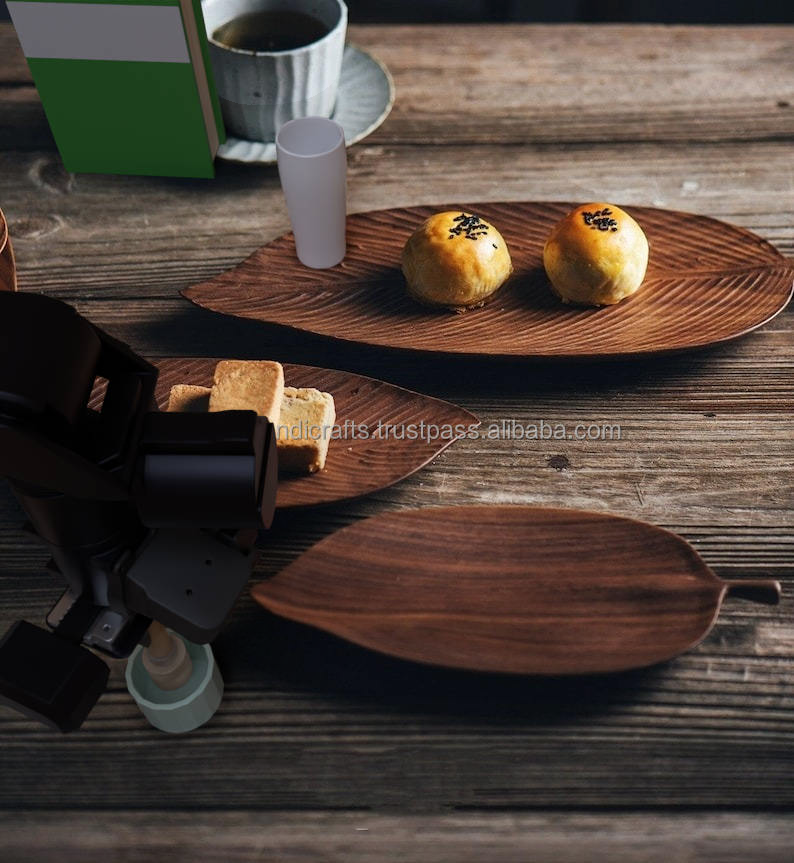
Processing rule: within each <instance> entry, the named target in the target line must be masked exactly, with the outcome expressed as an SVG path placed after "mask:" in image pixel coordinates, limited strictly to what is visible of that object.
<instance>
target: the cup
mask: <svg viewBox="0 0 794 863" xmlns="http://www.w3.org/2000/svg"><path fill="white" fill-rule="evenodd" d="M165 630H166V632H167V634H171V635H175V636H177V637H178V638H180V639H181V640H182V641H183V643H184V645H185V647H186V649H187V652H188V654H189V656H190V658H191V660H192V663H193V673H192V676H191V678H190V680H189V681H188V682H187V683H186V684H185V685H184V686H183V687H181V688H179V689H177V690H173V691H165V690H162V689H160V688H158V687H157V686H156V685H155V684H154V683H153V681H152V679H151V677H150V675H149V674H148V672H147V670H146V668H145V666H144V664H143V662H142V654H143V650H144V648H145V647H144V646H142V645H139V644H138V645H137V646H136V648H135V649H134V651H133V652H132V654H131V655H130V656H129V657H128V660H127V664H126V670H125V675H124V676H125V681H126V685H127V690H128V692H129V694H130V695H131V697H132V698H133V700H134V702H135V703H136V705H137V706H138V708H139V710H140V711H141V713H142V714H143V716H144V717H145V718H146V720H147V721H148V722H149V723H150V725H151V726H154V727H155V728H156V729H159V730H161V731H163V732H165V733H175V734H178V733H186V732H191V731H192V730H195V729H197V728H199V727H200V726H202V725H204V724H205V723H206V722H208V721H209V720H210V719H211V718H212V716H213V715H214V714H215V713H216V712H217V710H218V708H219V707H220V705H221V703H222V700H223V697H224V696H223V695H224V687H225V683H224V679H223V675H222V672H221V669H220V666H219V664H218V661H217V659H216V657H215V654H214V651H213V649H212V647H211V645H210V643H208V644H205V645H197V644H194V643H192V642H190V641H188V640H186V639H185V638H184V637H183V636H182V635H180V634H178V633H176V632H175V631H173V630H171V629H169V628H168V627H166V628H165Z"/></svg>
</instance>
